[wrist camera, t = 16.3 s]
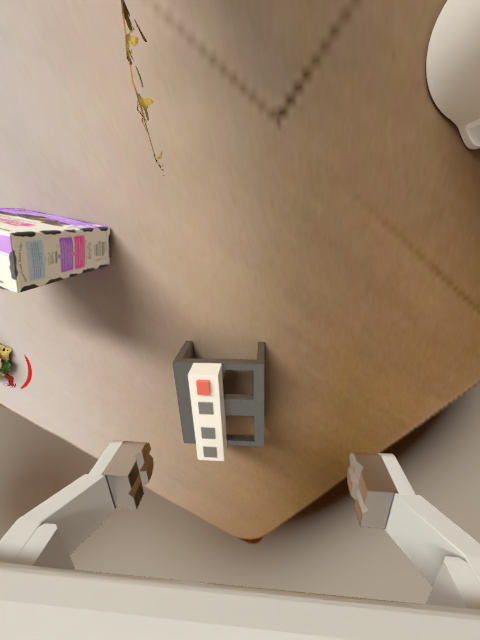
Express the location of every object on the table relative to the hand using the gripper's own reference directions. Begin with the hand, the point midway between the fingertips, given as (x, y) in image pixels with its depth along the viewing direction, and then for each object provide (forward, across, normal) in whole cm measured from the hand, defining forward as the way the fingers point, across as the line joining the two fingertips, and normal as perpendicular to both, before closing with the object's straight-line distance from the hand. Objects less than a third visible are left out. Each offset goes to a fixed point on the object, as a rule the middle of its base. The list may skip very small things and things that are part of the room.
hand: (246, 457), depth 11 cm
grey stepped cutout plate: (+31, +6, +18) cm, 36 cm away
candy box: (+31, +29, -7) cm, 43 cm away
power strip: (+28, +7, +18) cm, 34 cm away
